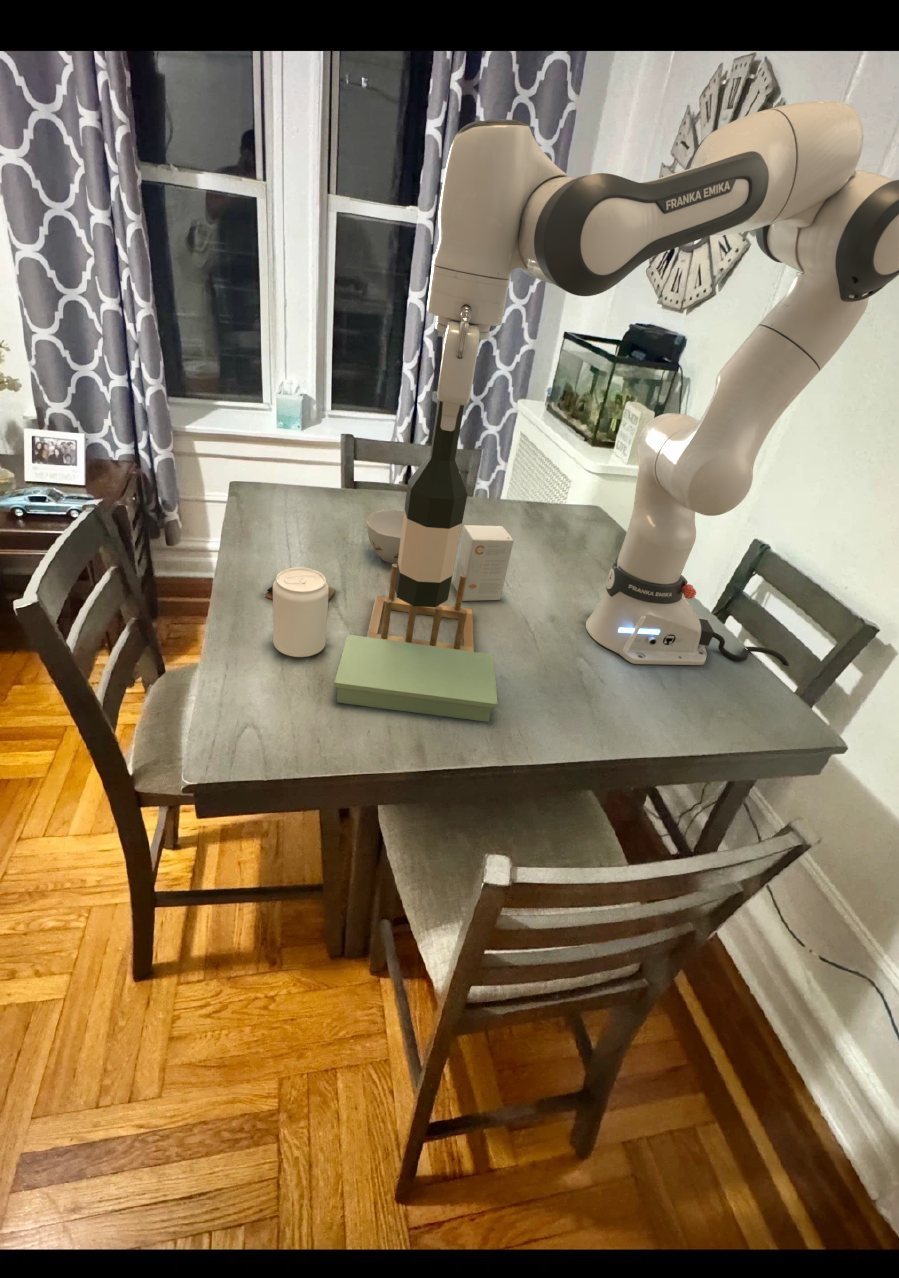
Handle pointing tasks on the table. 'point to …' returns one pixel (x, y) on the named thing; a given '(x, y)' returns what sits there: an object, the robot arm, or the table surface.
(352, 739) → the table surface
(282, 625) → the beverage can
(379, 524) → the teacup
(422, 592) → the wine bottle
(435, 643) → the dish rack
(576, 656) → the table surface
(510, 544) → the small box
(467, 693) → the green low rectangular block
